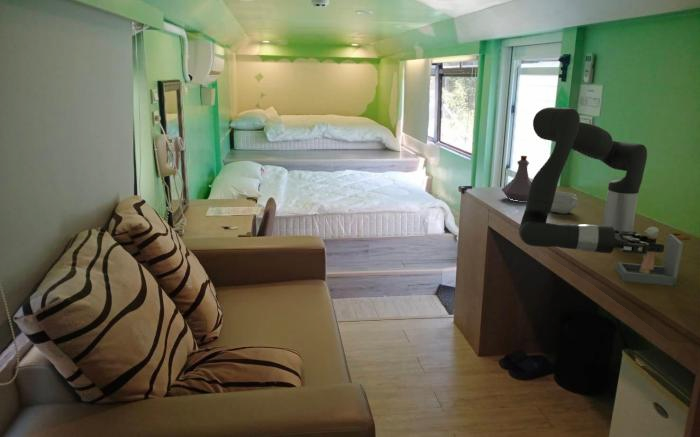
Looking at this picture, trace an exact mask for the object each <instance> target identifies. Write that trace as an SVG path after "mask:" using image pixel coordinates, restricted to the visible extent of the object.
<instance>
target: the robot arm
mask: <svg viewBox="0 0 700 437" xmlns="http://www.w3.org/2000/svg"><path fill="white" fill-rule="evenodd" d="M532 127H533V130H534V133H535V134H536V135H537V137H539V138H540V139H542V140H544V141H550V142H551V141H552V142H555V144H554V148H553V150H552V152H551V154H550V156H549V157H548V159H547V160H546V161H545V163H544V164H543V166H541V168H540V169H538V171H537V172H536V174H535V175H534V177H533V178H532V180H531V185H530V190H529V194H528V199H527V202H525V203H526V204H525V209H524V212H523V216H522V218H521V222H520V225H519V229H518V234H519V237H520V240H521V241H522V242H523V243H524V244H525V245H527V246H531V247H540V248H541V247H542V248H543V247H545V248H546V247H548V248H551V247H552V248H553V247H556V248H561V249H562V248H563V249H567V250H568V249H571V250H577V251H578V250H579V251H583V252H591V253H592V252H593V253H603V254H612V252H613V251H614V249H615V248H616V249H619V250H622V253H627V254H637V255H638V254H641V255H643V254H647V252H648V251H649V252H654V253H660V254H661V253H664V250H665V245H664V244H663V243H657V238H656V239H654V241H655V242H654V243H647V242H646V240H647V239H648V237H647V235H643V234H642V235H641V234H640V233H638V232H636V231H634V224H635V223H634V222H635V216H636V211H637V206H638V205H637V204H638V199H639V198H638V197H639V192H640V188H641V185H642V183H643V177H644V172H645V168H646V164H647V159H648V150H647V147H646V146H645V145H644V144H641V143H634V142H627V141H626V142H625V141H616V140H613V136H612V135H611V134H610V133H609V131H607V130H605V129H604V128H602V127H599V126H598V125H595V124H593V123H592V124H591V123H587V122H581V118H580V114H579V112H578V111H577V110H576V109H575V108H572V107H555V106H554V107H550V106H549V107H544V108H542V109H540V110H539V111H537V112H536V114H535V115H534V118H533V119H532ZM571 151H575V152H577V153H579V154H581V155H583V156H585V157H588V158H591V159H594V160H598V161H600V162H602V163H603V164H605V165H607V166H608V167H609V168H611V169H613V170H614V169H615V170H617V171H618V170H619V171H624V172H626V173H625V176H624V177H621V178H619V179H612V180H610V181H609V183H608V187H607V194H606V202H605V206H604V207H605V209H604V214H603V222H602V225H599V224H598V225H597V224H587V223H586V224H584V223H583V224H576V223H575V224H574V223H551V222H548V221H547V220H548V216H549V214H550V212H552V211H551V208H552V205H553V201H554V196H555V192H557V188H558V184H559V180H560V177H561V175H562V173H563V170H564V167H565V165H566V163H567V161H568V158H569V156H570V153H571Z"/></svg>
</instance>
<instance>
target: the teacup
mask: <svg viewBox="0 0 700 437" xmlns="http://www.w3.org/2000/svg"><path fill="white" fill-rule="evenodd" d="M579 202H580V201H579V199H578V198H577V195H576V194H574V193H570V192H566V191H565V192H564V191H556V192H555V196H554V201H553V205H552V208H551V211H550V212H552V213H556V212H557V214H569V213H570V212H572V211H573V210H574V209H575V208H577V207H578V206H579V204H580V203H579Z"/></svg>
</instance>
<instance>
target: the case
mask: <svg viewBox="0 0 700 437" xmlns="http://www.w3.org/2000/svg"><path fill="white" fill-rule="evenodd" d="M683 247H684V242H682V241H681V240H680V239H679V238H677V236H675V235H674V234H673V233H668V237H667V242H666V248H665V254H664V258H663V264H662V265H654V269H653V270H651V271H650V274H645V273H642V272H639V270H640V267H641V265H642V263H641V264H640V263H630V262H619V261H618V262H616V267H615V271H616V272H617V274H618V275H619V277H620V278H621V280H622V281H623V282H631V283H638V284H639V283H640V284H650V285H651V284H652V285H661V286H670V287H676V283H677V278H678V274H679V268H680V262H681V257H682V252H683Z"/></svg>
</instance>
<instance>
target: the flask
mask: <svg viewBox="0 0 700 437" xmlns="http://www.w3.org/2000/svg"><path fill="white" fill-rule="evenodd" d="M527 158H528V156H526V155H520V160H518V161H517V165H518V168H517V171H516V173H515V176H514V178H513V179H511V181H509V182H508V184H506V185H505V186H504V187H502V188H501V192H503V193H504V195H505V197H508V198H510V199H513V200H518V201H527V199H528V194H529V190H530V185H531V182H532V180H530V178H529V173H528V166H529V165H530V162H529V161H528V160H527ZM508 198H507V199H508Z"/></svg>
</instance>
